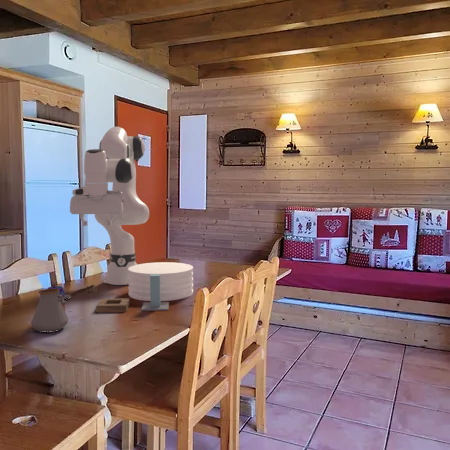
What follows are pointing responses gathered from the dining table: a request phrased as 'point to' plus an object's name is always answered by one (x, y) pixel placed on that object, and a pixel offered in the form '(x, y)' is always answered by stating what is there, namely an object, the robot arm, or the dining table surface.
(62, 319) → the coffee pot
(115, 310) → the holder
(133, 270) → the plate stack
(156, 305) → the peg
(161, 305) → the coaster
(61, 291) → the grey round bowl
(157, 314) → the dining table surface
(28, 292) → the dining table surface
